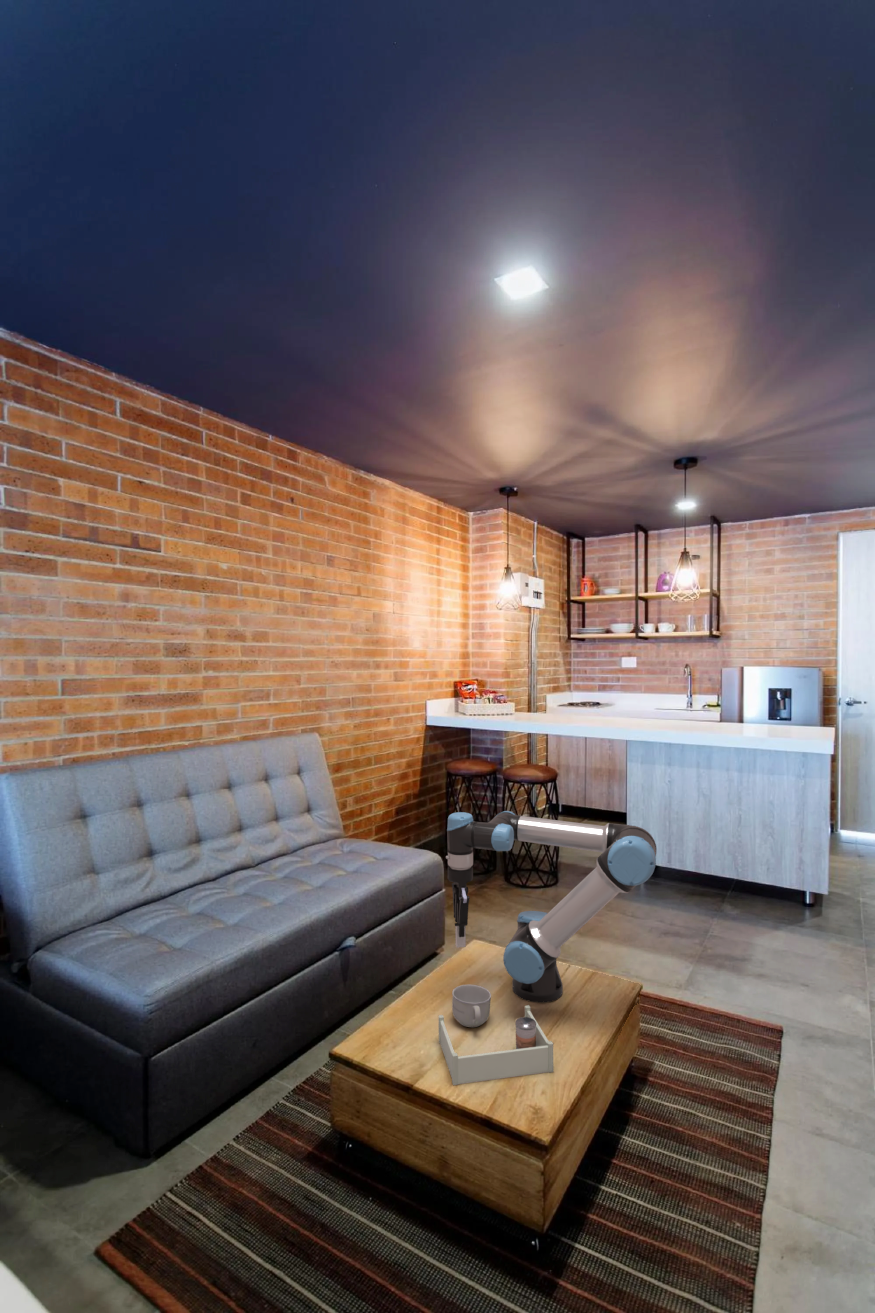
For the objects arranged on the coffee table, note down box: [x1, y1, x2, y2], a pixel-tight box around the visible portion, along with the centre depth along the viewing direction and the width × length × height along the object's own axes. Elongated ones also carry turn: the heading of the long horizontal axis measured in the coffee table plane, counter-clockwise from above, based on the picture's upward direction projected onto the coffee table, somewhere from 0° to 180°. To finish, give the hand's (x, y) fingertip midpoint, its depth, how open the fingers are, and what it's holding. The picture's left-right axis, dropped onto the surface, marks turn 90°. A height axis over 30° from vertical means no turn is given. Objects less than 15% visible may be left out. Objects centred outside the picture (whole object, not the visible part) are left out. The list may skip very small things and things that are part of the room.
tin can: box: [515, 1016, 536, 1049], centre depth 163 cm, size 5×5×8 cm
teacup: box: [451, 983, 492, 1028], centre depth 177 cm, size 14×11×8 cm
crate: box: [438, 1004, 554, 1086], centre depth 162 cm, size 25×18×7 cm
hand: (460, 946), depth 190 cm, fingers closed
